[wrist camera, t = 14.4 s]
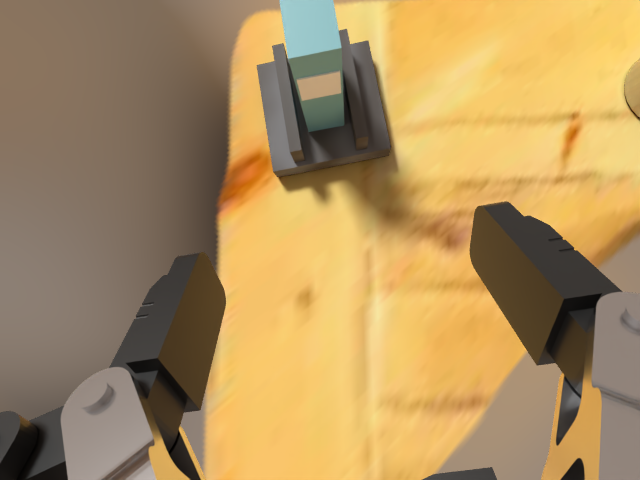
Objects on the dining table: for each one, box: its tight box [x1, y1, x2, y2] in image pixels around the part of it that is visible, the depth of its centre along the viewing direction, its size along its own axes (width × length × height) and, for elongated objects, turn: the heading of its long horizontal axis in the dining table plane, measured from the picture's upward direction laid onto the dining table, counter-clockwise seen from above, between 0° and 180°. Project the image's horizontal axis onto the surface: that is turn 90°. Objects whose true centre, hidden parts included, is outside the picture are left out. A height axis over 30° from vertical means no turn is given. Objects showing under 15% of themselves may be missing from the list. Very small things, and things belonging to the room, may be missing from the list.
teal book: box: [280, 0, 344, 132], centre depth 30 cm, size 4×6×12 cm
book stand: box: [257, 29, 391, 177], centre depth 36 cm, size 13×13×5 cm
